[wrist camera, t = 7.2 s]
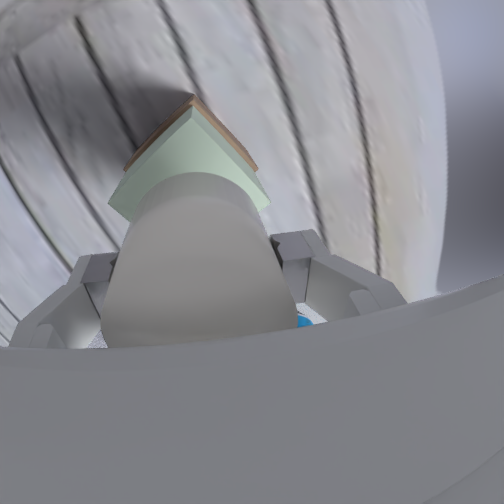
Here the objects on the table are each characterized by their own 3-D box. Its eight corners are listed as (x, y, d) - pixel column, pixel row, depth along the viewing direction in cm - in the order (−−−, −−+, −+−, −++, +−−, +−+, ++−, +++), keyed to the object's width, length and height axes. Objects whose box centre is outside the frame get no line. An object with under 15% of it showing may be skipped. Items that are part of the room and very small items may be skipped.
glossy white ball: (178, 301, 13) (179, 401, 9) (106, 217, 10) (62, 314, 6) (280, 251, 12) (320, 347, 8) (222, 146, 9) (243, 212, 5)
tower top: (189, 223, 19) (189, 269, 15) (128, 169, 16) (107, 203, 12) (252, 169, 18) (271, 202, 14) (192, 105, 15) (191, 117, 11)
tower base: (190, 197, 24) (190, 228, 20) (137, 149, 20) (123, 169, 16) (245, 149, 22) (258, 168, 18) (194, 94, 19) (193, 99, 15)
